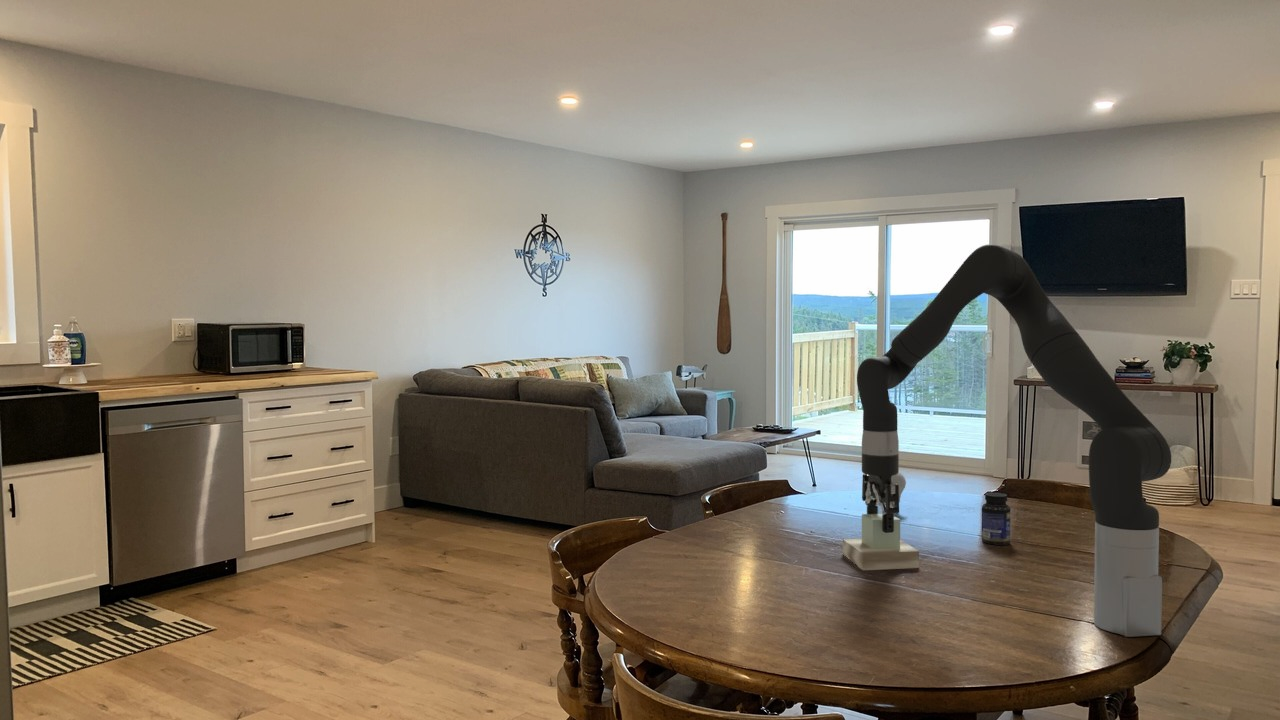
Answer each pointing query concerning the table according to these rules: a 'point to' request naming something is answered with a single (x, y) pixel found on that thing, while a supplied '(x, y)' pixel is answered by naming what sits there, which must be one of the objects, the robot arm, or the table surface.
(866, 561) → the birch block
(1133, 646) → the table surface
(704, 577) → the table surface
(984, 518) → the pill bottle
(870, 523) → the sage block
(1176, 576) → the table surface
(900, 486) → the lightbulb
